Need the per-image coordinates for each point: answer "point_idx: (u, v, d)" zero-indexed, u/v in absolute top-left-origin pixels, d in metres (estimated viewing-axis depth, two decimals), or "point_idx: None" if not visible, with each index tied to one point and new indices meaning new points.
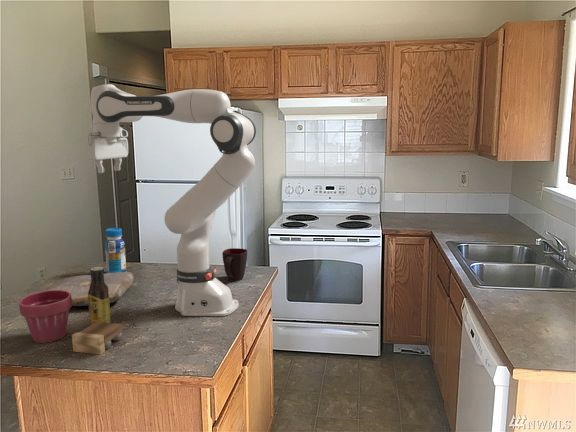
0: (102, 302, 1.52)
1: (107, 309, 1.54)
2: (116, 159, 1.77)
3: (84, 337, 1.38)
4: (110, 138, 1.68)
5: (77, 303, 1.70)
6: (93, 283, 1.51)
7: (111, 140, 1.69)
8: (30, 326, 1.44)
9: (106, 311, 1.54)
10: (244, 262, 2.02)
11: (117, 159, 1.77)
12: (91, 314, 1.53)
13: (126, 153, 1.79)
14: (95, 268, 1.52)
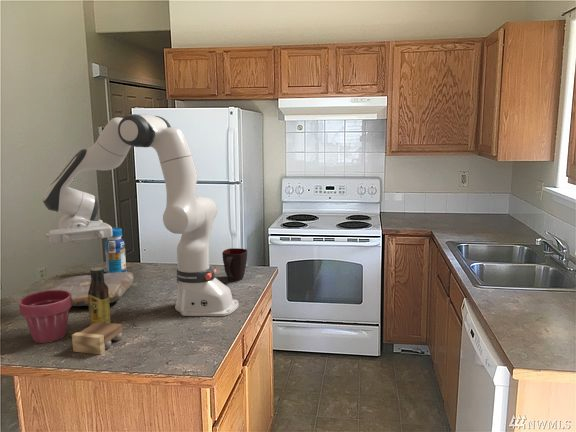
0: (102, 302, 1.52)
1: (107, 309, 1.54)
2: None
3: (84, 337, 1.38)
4: (72, 225, 1.69)
5: (77, 303, 1.70)
6: (93, 283, 1.51)
7: (73, 225, 1.69)
8: (30, 326, 1.44)
9: (106, 311, 1.54)
10: (244, 262, 2.02)
11: None
12: (91, 314, 1.53)
13: (107, 226, 1.71)
14: (95, 268, 1.52)
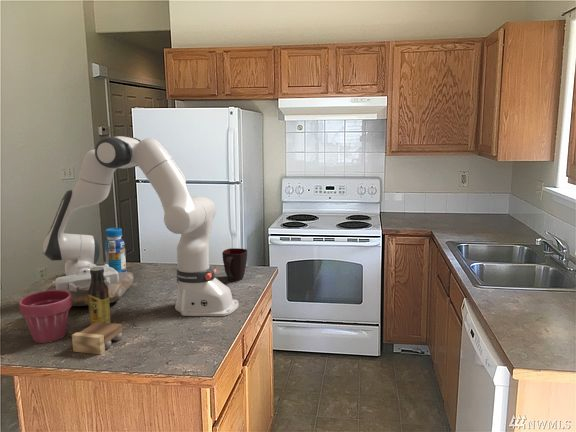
0: (102, 302, 1.52)
1: (107, 309, 1.54)
2: None
3: (84, 337, 1.38)
4: (78, 271, 1.69)
5: (77, 303, 1.70)
6: (93, 283, 1.51)
7: (79, 271, 1.69)
8: (30, 326, 1.44)
9: (106, 311, 1.54)
10: (244, 262, 2.02)
11: (105, 280, 1.67)
12: (91, 314, 1.53)
13: (113, 272, 1.71)
14: (95, 268, 1.52)
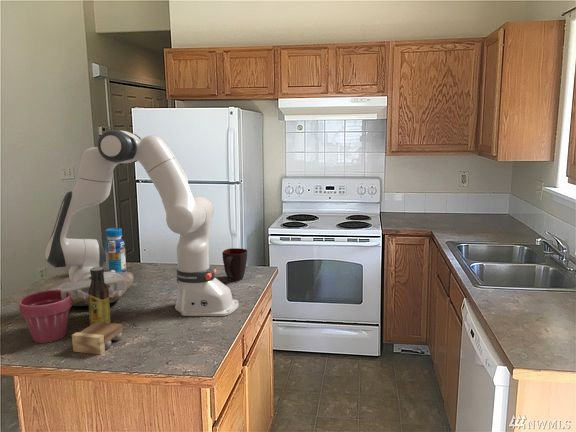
0: (102, 302, 1.52)
1: (107, 309, 1.54)
2: None
3: (84, 337, 1.38)
4: (84, 278, 1.62)
5: (77, 303, 1.70)
6: (93, 282, 1.51)
7: (85, 278, 1.61)
8: (30, 326, 1.44)
9: (106, 311, 1.54)
10: (244, 262, 2.02)
11: (109, 287, 1.59)
12: (91, 314, 1.53)
13: (120, 278, 1.63)
14: (95, 268, 1.52)
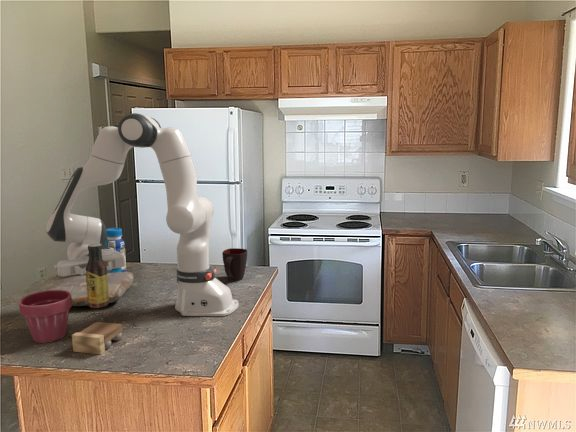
0: (100, 279, 1.49)
1: (105, 286, 1.51)
2: None
3: (84, 337, 1.38)
4: (82, 255, 1.59)
5: (77, 303, 1.70)
6: (91, 259, 1.49)
7: (83, 254, 1.58)
8: (30, 326, 1.44)
9: (104, 289, 1.51)
10: (244, 262, 2.02)
11: None
12: (89, 291, 1.50)
13: (119, 256, 1.60)
14: (93, 244, 1.49)
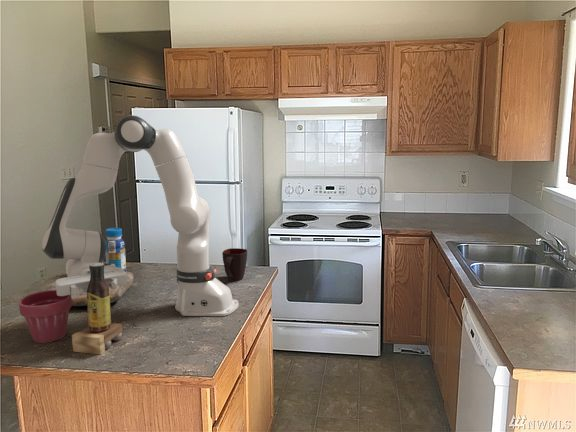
0: (102, 301, 1.40)
1: (107, 309, 1.42)
2: None
3: (84, 337, 1.38)
4: (81, 272, 1.49)
5: (77, 303, 1.70)
6: (92, 279, 1.40)
7: (83, 272, 1.49)
8: (30, 326, 1.44)
9: (106, 311, 1.42)
10: (244, 262, 2.02)
11: (112, 281, 1.47)
12: (90, 314, 1.41)
13: (121, 273, 1.51)
14: (95, 264, 1.41)
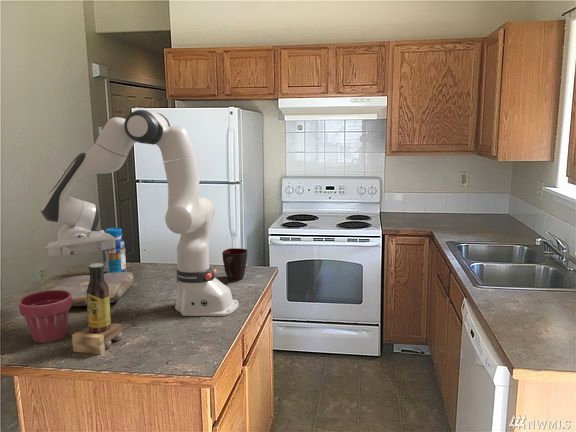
0: (102, 302, 1.40)
1: (107, 309, 1.42)
2: None
3: (84, 337, 1.38)
4: (72, 236, 1.60)
5: (77, 303, 1.70)
6: (92, 280, 1.39)
7: (73, 236, 1.60)
8: (30, 326, 1.44)
9: (106, 312, 1.42)
10: (244, 262, 2.02)
11: None
12: (90, 315, 1.40)
13: (109, 237, 1.61)
14: (94, 265, 1.40)
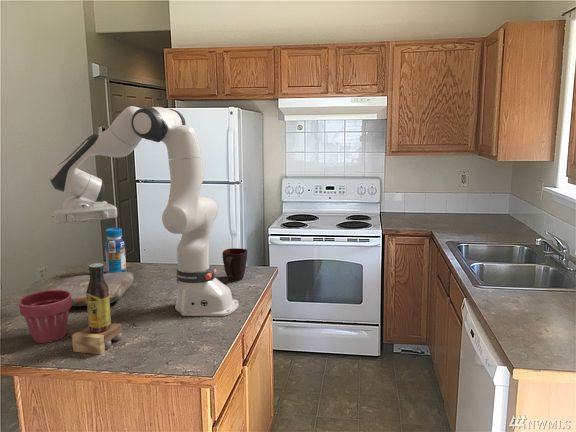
0: (102, 302, 1.40)
1: (107, 309, 1.42)
2: None
3: (84, 337, 1.38)
4: (77, 206, 1.69)
5: (77, 303, 1.70)
6: (92, 280, 1.39)
7: (78, 205, 1.68)
8: (30, 326, 1.44)
9: (106, 312, 1.42)
10: (244, 262, 2.02)
11: None
12: (90, 315, 1.40)
13: (112, 207, 1.70)
14: (94, 265, 1.40)
